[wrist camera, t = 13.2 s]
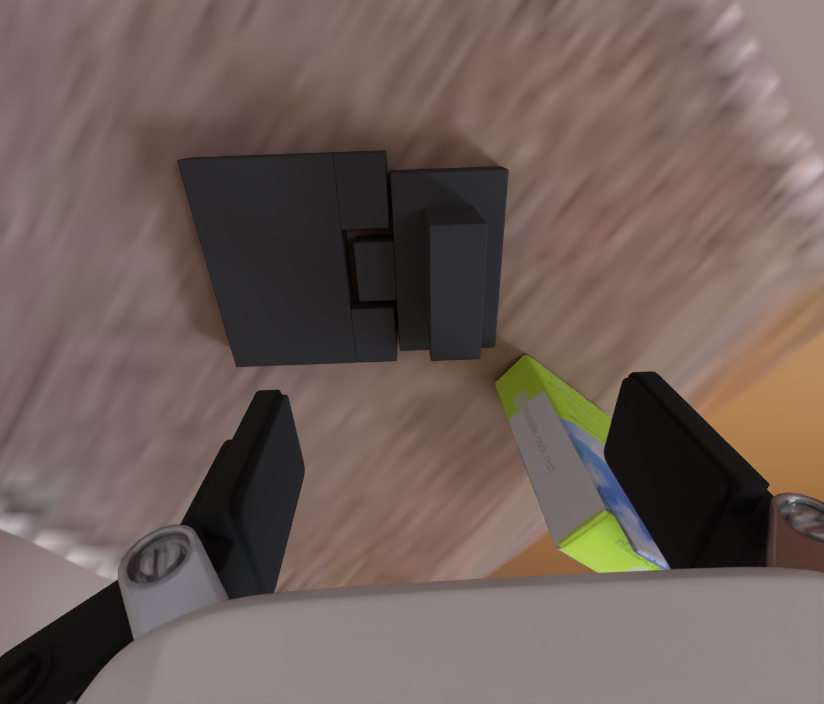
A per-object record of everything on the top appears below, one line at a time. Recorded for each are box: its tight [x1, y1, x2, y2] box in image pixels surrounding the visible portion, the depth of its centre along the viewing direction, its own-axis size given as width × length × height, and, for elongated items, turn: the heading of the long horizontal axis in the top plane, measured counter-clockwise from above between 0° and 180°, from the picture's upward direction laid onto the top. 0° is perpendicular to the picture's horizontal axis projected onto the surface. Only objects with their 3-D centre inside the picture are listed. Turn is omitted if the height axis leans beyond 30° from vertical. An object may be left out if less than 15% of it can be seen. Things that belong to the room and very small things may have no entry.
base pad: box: [177, 150, 397, 367], centre depth 28 cm, size 14×12×2 cm
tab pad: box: [353, 166, 508, 361], centre depth 25 cm, size 12×10×7 cm
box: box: [495, 355, 671, 573], centre depth 27 cm, size 10×4×17 cm, turn 52°
